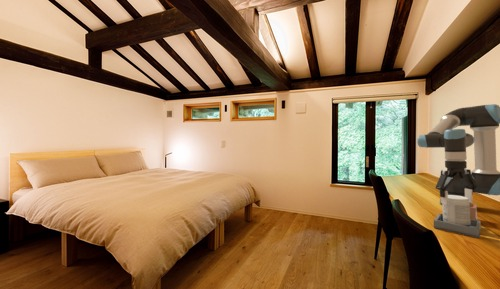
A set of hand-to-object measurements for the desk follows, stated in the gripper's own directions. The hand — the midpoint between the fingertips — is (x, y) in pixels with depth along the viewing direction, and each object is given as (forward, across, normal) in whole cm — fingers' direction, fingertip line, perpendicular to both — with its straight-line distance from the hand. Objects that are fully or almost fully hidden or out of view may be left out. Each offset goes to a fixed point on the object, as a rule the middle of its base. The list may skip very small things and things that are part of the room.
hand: (456, 202), depth 100 cm
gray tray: (+13, 0, 0) cm, 13 cm away
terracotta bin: (+13, -13, -8) cm, 20 cm away
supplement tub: (+12, +1, 0) cm, 12 cm away
